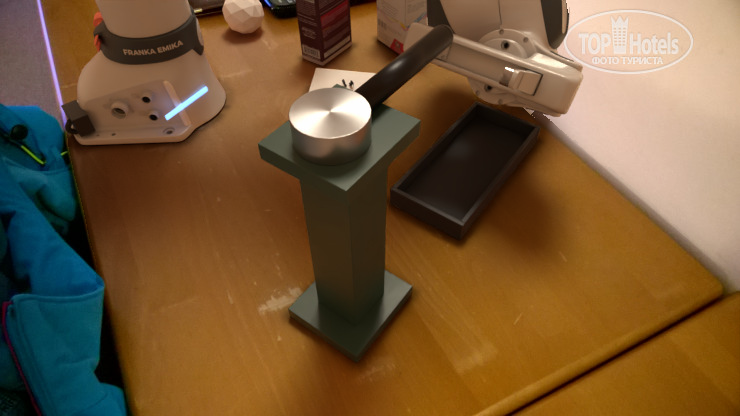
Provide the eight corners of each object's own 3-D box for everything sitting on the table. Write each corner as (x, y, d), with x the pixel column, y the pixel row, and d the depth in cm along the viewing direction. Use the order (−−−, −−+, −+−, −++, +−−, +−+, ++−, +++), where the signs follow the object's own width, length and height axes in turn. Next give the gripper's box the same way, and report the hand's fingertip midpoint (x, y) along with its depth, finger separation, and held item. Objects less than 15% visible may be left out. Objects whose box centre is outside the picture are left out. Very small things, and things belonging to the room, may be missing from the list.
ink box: (426, 51, 88) (432, -16, 79) (403, 60, 86) (406, -8, 77) (397, 30, 93) (399, -36, 84) (374, 38, 91) (374, -28, 82)
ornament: (239, 16, 96) (259, -18, 92) (258, 44, 94) (280, 10, 90) (208, 11, 91) (228, -26, 86) (228, 40, 89) (249, 4, 84)
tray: (473, 115, 76) (476, 100, 74) (536, 141, 72) (541, 126, 70) (389, 203, 64) (390, 188, 62) (459, 240, 60) (462, 226, 58)
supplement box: (331, 37, 91) (325, -56, 79) (353, 45, 89) (349, -48, 77) (300, 58, 87) (288, -37, 75) (322, 67, 85) (313, -29, 73)
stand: (347, 254, 59) (335, 78, 41) (412, 293, 55) (430, 119, 37) (289, 316, 53) (247, 144, 35) (357, 363, 50) (347, 199, 32)
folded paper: (386, 80, 82) (387, 69, 81) (374, 127, 74) (374, 116, 73) (315, 73, 84) (314, 63, 82) (296, 119, 76) (294, 108, 74)
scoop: (419, 32, 45) (421, 7, 44) (474, 52, 43) (479, 26, 41) (276, 144, 35) (271, 117, 34) (338, 177, 33) (336, 150, 31)
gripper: (441, 17, 65) (389, 0, 53) (597, 69, 57) (577, 63, 45) (424, 65, 67) (371, 59, 55) (572, 122, 59) (547, 129, 47)
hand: (465, 61), depth 50 cm, fingers open, 8 cm apart
